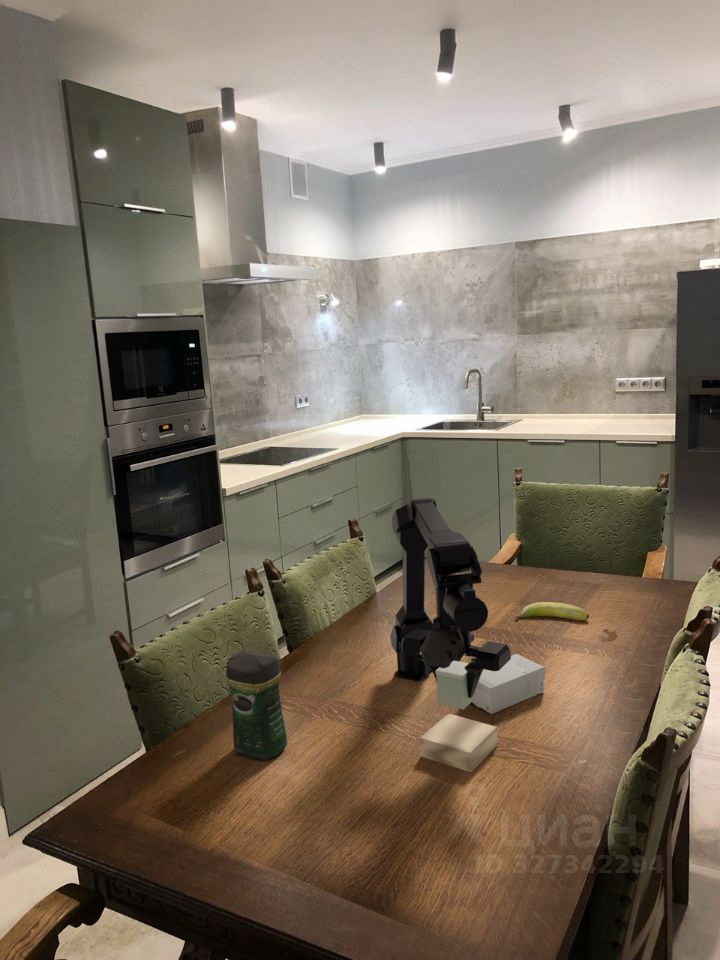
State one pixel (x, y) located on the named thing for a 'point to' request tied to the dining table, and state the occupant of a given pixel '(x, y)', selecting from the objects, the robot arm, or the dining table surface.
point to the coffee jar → (256, 705)
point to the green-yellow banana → (561, 614)
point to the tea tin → (453, 686)
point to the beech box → (459, 742)
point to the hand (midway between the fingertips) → (456, 694)
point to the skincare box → (509, 684)
